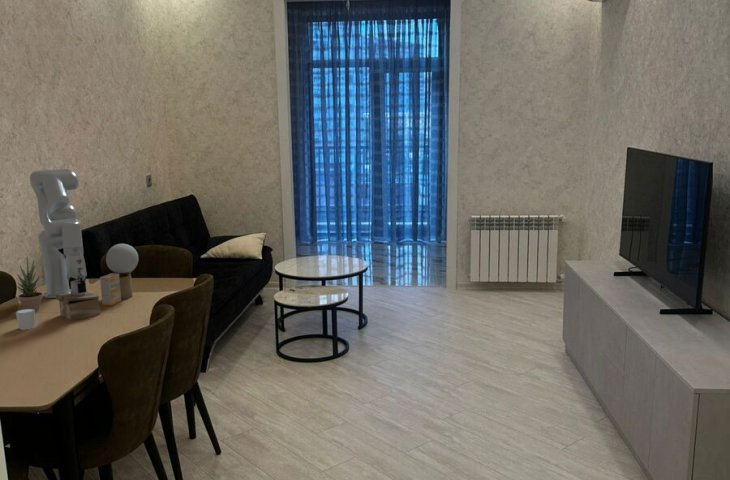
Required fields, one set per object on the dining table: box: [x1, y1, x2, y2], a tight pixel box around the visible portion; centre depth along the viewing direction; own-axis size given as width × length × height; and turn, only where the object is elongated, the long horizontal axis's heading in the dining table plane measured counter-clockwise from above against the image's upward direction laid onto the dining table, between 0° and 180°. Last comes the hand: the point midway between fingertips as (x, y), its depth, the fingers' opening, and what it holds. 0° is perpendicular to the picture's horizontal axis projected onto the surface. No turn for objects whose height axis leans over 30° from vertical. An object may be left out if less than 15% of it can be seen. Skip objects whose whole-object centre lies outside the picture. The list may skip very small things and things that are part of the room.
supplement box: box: [99, 272, 122, 307], centre depth 302 cm, size 8×5×13 cm, turn 168°
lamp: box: [105, 243, 139, 301], centre depth 312 cm, size 15×14×25 cm
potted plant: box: [16, 256, 44, 313], centre depth 292 cm, size 10×10×25 cm
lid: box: [56, 290, 100, 305], centre depth 285 cm, size 12×13×2 cm
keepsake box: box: [58, 297, 101, 321], centre depth 286 cm, size 12×12×7 cm
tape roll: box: [70, 279, 85, 297], centre depth 285 cm, size 6×6×6 cm
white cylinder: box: [15, 308, 36, 331], centre depth 269 cm, size 7×7×7 cm
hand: (77, 290), depth 285 cm, fingers open, 9 cm apart
